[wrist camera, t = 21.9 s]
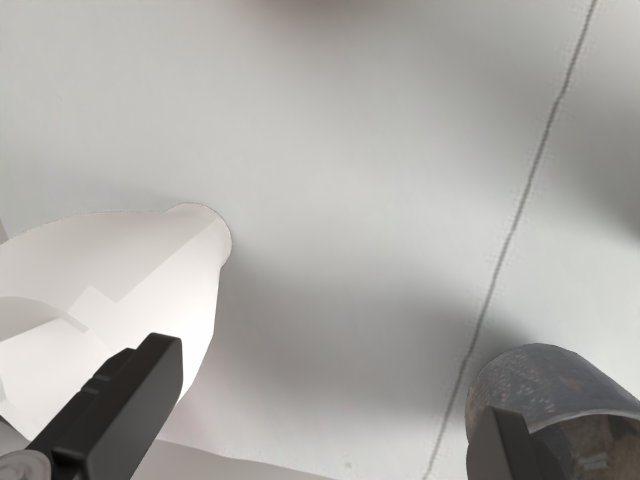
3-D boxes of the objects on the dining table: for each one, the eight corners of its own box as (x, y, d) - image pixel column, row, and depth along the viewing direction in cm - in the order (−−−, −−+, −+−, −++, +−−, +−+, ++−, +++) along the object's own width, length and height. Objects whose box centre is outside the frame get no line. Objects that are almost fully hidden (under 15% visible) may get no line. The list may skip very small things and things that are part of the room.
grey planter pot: (413, 344, 45) (438, 456, 31) (575, 280, 41) (688, 376, 27) (474, 457, 50) (520, 600, 36) (625, 410, 46) (745, 550, 32)
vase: (107, 185, 42) (-353, 352, 15) (241, 156, 40) (-11, 289, 13) (155, 309, 47) (-129, 611, 19) (278, 289, 44) (151, 599, 17)
